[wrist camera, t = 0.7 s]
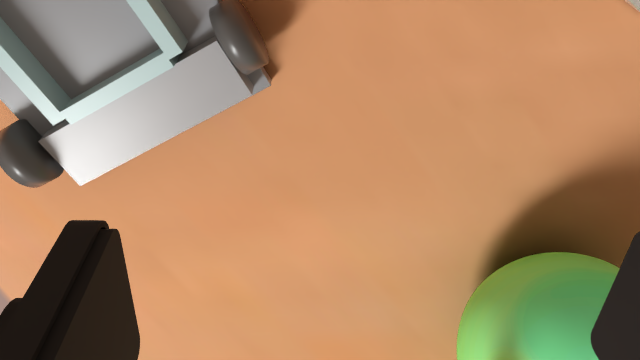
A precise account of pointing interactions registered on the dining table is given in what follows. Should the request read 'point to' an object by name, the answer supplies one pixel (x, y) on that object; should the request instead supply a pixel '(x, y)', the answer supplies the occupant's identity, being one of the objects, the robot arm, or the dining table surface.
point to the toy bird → (536, 309)
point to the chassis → (117, 78)
